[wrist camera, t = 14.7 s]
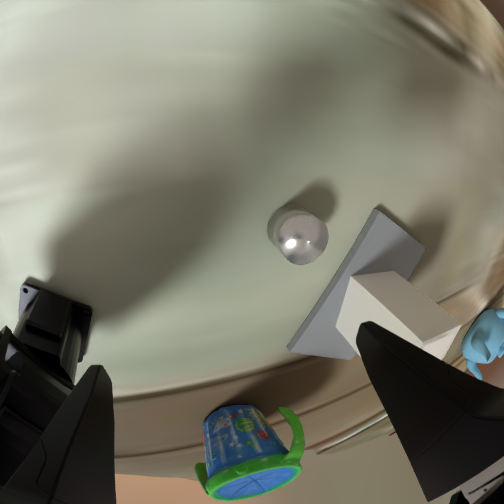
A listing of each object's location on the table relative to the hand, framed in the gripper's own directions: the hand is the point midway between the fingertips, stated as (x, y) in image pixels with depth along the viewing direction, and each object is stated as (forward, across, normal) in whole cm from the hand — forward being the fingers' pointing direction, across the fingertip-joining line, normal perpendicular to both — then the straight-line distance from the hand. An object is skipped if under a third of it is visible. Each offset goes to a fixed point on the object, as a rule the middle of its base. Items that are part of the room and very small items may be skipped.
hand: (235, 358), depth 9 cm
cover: (+13, -15, +11) cm, 23 cm away
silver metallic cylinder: (+14, -6, +2) cm, 15 cm away
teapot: (+17, -55, +34) cm, 67 cm away
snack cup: (+12, 0, +26) cm, 29 cm away
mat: (+14, -15, +11) cm, 23 cm away
